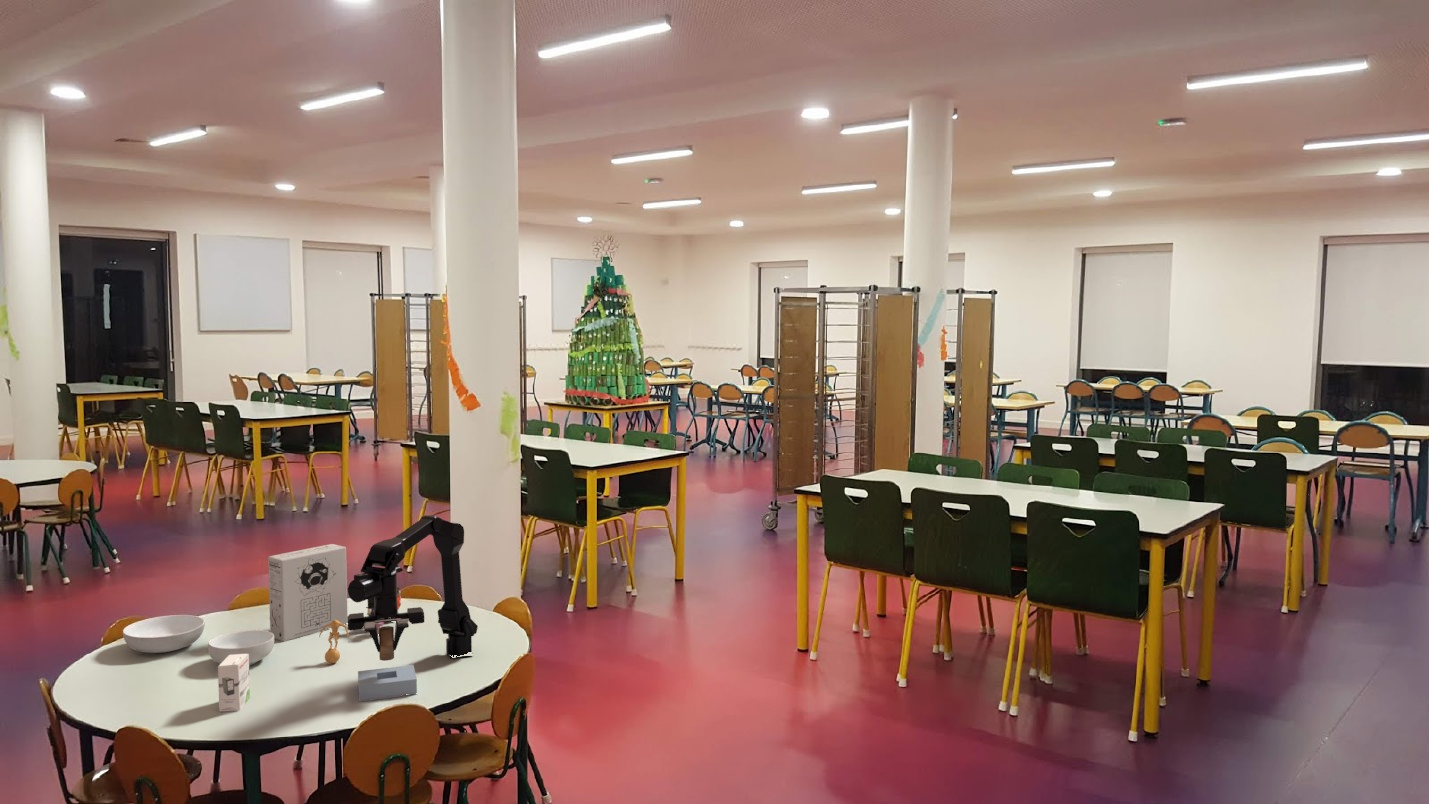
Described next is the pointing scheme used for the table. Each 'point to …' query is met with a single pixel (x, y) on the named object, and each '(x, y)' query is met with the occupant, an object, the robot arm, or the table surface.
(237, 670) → the ink box
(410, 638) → the table surface
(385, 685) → the socket block
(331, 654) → the figurine
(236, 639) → the cereal bowl
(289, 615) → the cereal box
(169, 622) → the serving bowl
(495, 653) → the table surface
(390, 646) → the peg
